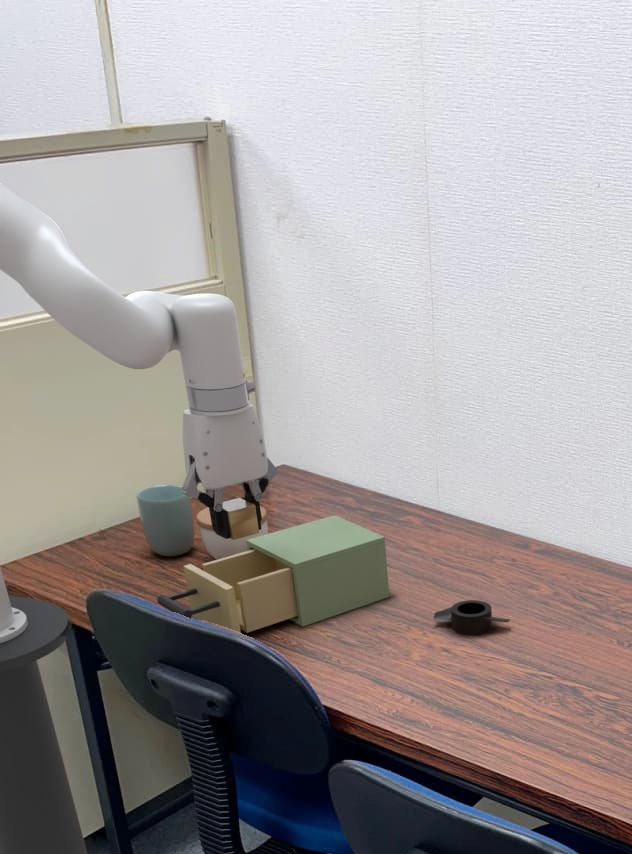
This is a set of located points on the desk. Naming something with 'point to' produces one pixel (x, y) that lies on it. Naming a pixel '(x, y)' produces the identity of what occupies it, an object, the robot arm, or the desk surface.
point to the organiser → (329, 566)
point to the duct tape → (469, 617)
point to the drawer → (238, 592)
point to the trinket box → (220, 545)
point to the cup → (166, 519)
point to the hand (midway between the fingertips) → (238, 530)
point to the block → (241, 518)
